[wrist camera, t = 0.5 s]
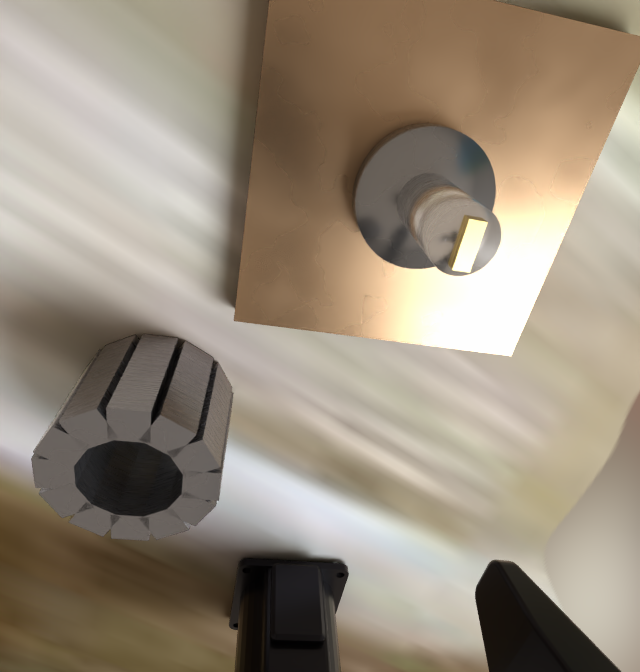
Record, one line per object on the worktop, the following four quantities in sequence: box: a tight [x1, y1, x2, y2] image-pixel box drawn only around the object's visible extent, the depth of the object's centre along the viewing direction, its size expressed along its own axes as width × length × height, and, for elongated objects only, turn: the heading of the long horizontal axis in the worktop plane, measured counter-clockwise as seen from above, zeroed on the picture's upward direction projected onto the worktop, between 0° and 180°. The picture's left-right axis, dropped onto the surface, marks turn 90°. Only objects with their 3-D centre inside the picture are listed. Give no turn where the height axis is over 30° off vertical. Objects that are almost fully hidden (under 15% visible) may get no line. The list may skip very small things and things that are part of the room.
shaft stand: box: [234, 0, 640, 356], centre depth 15 cm, size 12×12×6 cm
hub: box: [31, 334, 233, 541], centre depth 20 cm, size 7×7×5 cm
